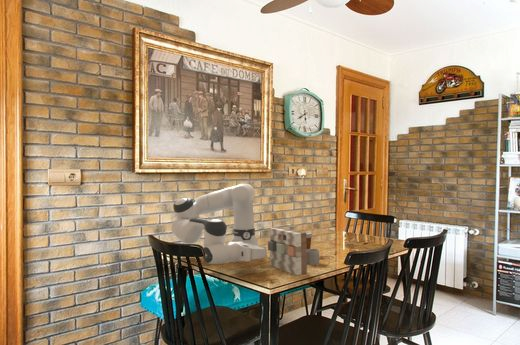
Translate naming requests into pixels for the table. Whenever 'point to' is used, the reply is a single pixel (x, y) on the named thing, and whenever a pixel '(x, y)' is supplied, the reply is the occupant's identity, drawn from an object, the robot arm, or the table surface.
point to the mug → (312, 256)
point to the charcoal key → (272, 246)
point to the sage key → (280, 248)
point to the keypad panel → (286, 261)
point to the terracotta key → (291, 250)
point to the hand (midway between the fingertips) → (264, 248)
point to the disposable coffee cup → (308, 239)
